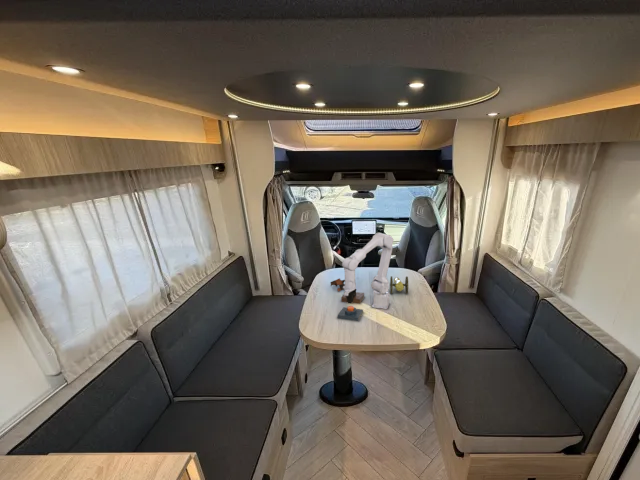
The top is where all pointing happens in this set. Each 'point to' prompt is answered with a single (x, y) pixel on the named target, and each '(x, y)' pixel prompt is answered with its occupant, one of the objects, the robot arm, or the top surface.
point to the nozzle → (350, 308)
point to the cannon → (398, 284)
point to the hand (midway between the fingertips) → (350, 302)
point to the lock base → (357, 298)
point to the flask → (350, 314)
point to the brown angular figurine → (338, 282)
